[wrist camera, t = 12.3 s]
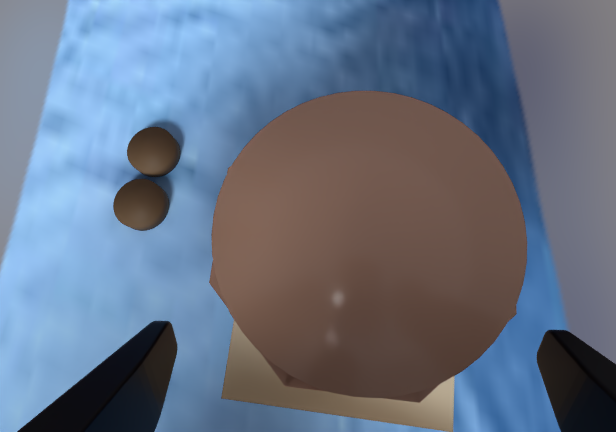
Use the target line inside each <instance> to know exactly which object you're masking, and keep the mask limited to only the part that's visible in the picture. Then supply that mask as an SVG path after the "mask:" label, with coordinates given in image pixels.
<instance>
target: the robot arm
mask: <svg viewBox="0 0 616 432" xmlns="http://www.w3.org/2000/svg"><path fill="white" fill-rule="evenodd" d="M176 355H177V342H176V338H175V334H174V331H173V327H172V324H171V323H170V322H169V321H153V322H151V323H150V324H149V325H147V326H146V327H145V328H144V329H143V330H141V331H140V332H139V333H138V334H136V335H135V336H134V337H133V338H132V339H130V340H129V341H128V342H127V343H125V344H124V345H123V346H122V347H120V348H119V349H118V350H117V351H116V352H114V353H113V354H112V355H111V356H109V357H108V358H107V359H106V360H104V361H103V362H102V363H101V364H100V365H98V366H97V367H96V368H95V369H93V370H92V371H91V372H90V373H89V374H87V375H86V376H85V377H84V378H82V379H81V380H80V381H79V382H77V383H76V384H75V385H74V386H73V387H71V388H70V389H69V390H68V391H66V392H65V393H64V394H63V395H61V396H60V397H59V398H58V399H57V400H55V401H54V402H53V403H52V404H50V405H49V406H48V407H47V408H46V409H44V410H43V411H42V412H41V413H39V414H38V415H37V416H36V417H34V418H33V419H32V420H31V421H30V422H28V423H27V424H26V425H25V426H23V427H22V428H21V429H20V430H18V431H17V432H154V431H155V429H156V426H157V423H158V420H159V418H160V415H161V411H162V408H163V404H164V401H165V397H166V393H167V389H168V385H169V381H170V378H171V374H172V370H173V366H174V362H175V358H176ZM537 363H538V367H539V370H540V373H541V376H542V378H543V381H544V384H545V387H546V390H547V393H548V396H549V399H550V402H551V405H552V408H553V411H554V414H555V417H556V420H557V422H558V425H559V428H560V430H561V432H616V364H615V363H613V362H612V361H610V360H609V359H607V358H606V357H605V356H603V355H602V354H600V353H599V352H597V351H596V350H594V349H593V348H592V347H590V346H589V345H587V344H586V343H585V342H583V341H582V340H580V339H579V338H577V337H576V336H575V335H573V334H572V333H570V332H569V331H566V330H548V331H547V332H546V333H545V335H544V337H543V340H542V342H541V345H540V347H539V350H538V352H537Z"/></svg>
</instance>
